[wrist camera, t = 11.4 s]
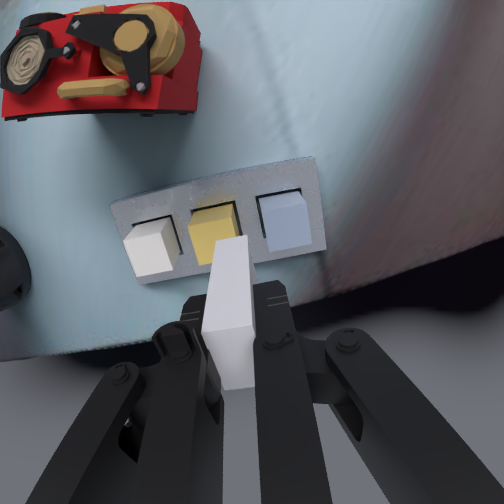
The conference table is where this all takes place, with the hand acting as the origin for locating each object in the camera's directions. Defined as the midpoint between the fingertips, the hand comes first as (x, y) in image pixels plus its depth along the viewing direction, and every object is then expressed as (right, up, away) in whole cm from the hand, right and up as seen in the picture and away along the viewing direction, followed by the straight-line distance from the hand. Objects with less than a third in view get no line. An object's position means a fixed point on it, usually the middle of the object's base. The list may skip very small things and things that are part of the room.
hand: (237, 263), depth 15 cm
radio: (-13, +22, +16) cm, 30 cm away
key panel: (-4, +5, +25) cm, 25 cm away
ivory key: (-11, +2, +23) cm, 26 cm away
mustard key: (-4, +4, +23) cm, 23 cm away
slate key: (+4, +5, +22) cm, 23 cm away
